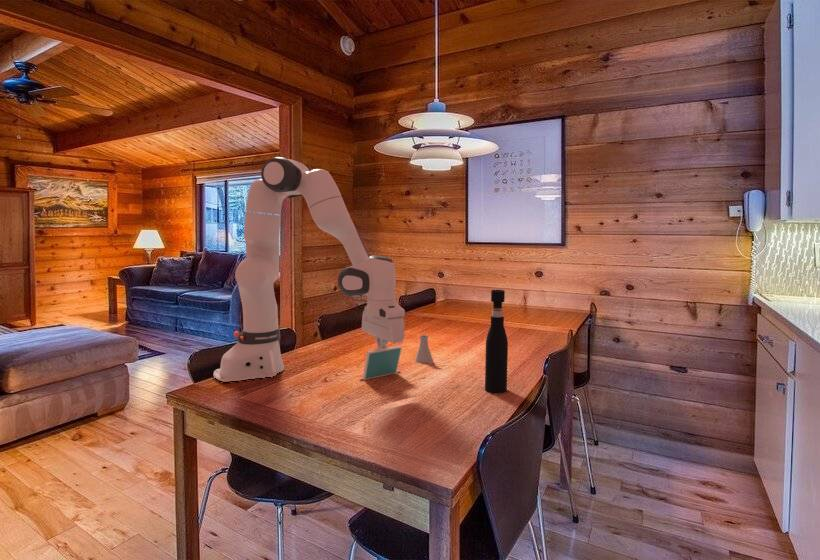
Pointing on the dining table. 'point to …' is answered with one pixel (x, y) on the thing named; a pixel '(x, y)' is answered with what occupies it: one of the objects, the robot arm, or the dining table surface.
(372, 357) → the tile
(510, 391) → the dining table surface
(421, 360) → the flask
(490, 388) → the wine bottle
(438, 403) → the dining table surface
